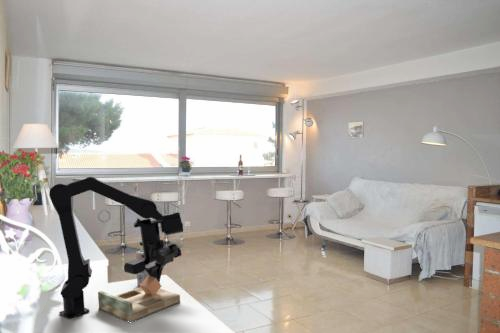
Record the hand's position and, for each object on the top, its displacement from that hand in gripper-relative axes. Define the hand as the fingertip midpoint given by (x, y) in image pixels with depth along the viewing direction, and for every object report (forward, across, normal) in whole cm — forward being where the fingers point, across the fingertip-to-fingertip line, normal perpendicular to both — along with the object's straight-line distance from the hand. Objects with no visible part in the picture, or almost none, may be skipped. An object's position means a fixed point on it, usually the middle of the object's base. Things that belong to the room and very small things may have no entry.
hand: (157, 284), depth 128 cm
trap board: (+4, -7, 0) cm, 8 cm away
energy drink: (+5, +6, +16) cm, 18 cm away
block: (+1, -2, 0) cm, 2 cm away
